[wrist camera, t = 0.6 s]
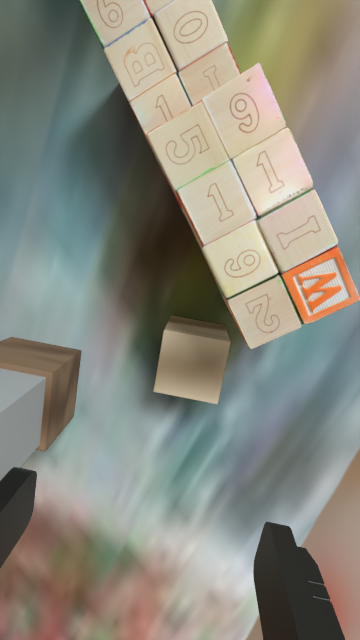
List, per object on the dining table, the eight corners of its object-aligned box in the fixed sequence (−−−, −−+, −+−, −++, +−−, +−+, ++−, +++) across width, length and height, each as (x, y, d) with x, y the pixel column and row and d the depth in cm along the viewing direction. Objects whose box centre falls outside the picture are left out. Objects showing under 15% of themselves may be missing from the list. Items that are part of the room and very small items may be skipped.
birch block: (171, 315, 29) (164, 329, 23) (224, 324, 29) (230, 342, 23) (162, 365, 30) (153, 391, 24) (214, 375, 30) (217, 404, 24)
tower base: (11, 336, 31) (-34, 355, 25) (81, 350, 30) (52, 372, 25) (7, 402, 32) (-37, 435, 26) (73, 415, 32) (45, 451, 26)
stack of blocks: (118, 82, 26) (45, -71, 14) (186, 39, 25) (172, -165, 13) (230, 313, 29) (250, 353, 17) (294, 282, 28) (365, 302, 16)
